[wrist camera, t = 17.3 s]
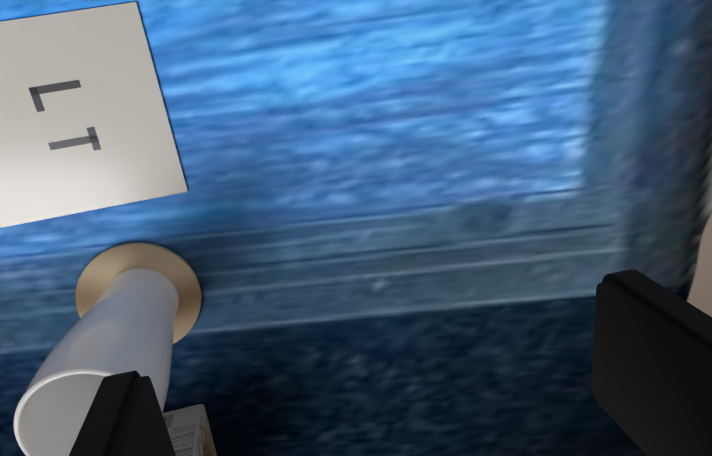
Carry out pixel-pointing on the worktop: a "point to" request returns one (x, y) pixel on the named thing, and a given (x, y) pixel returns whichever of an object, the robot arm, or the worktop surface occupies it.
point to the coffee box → (190, 431)
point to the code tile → (81, 116)
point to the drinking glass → (99, 359)
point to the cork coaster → (149, 258)
